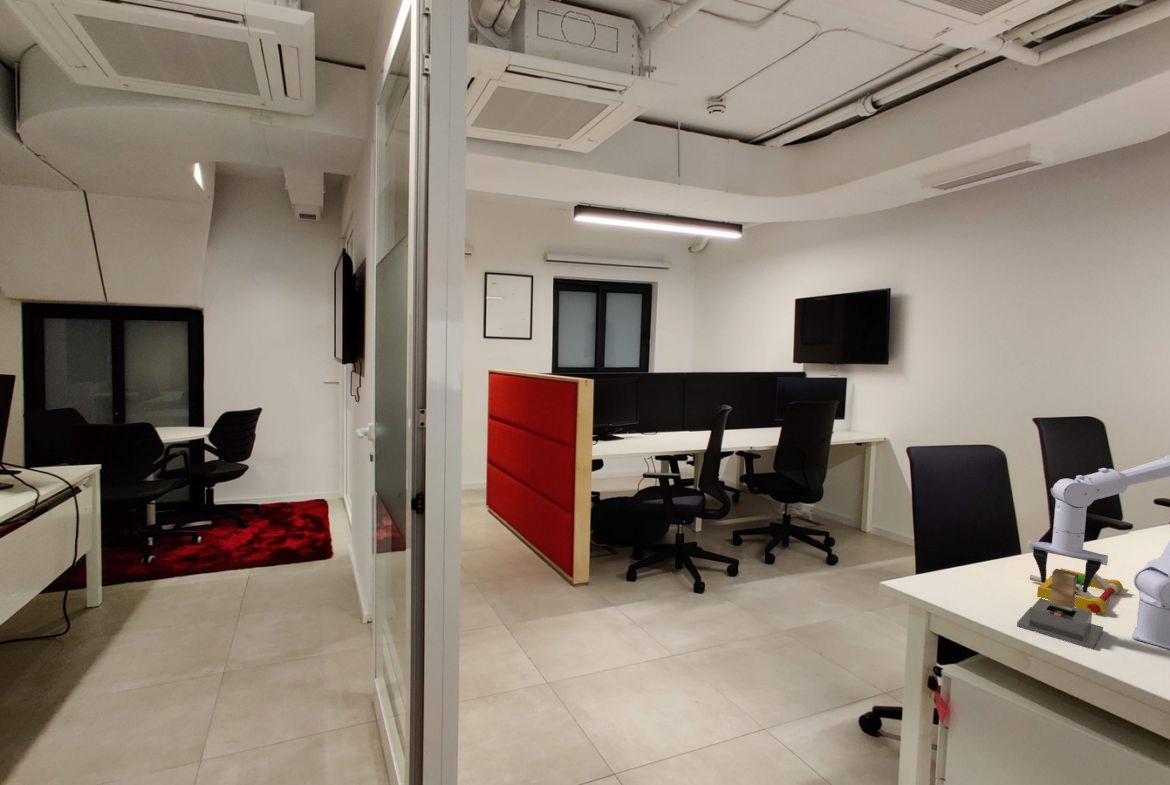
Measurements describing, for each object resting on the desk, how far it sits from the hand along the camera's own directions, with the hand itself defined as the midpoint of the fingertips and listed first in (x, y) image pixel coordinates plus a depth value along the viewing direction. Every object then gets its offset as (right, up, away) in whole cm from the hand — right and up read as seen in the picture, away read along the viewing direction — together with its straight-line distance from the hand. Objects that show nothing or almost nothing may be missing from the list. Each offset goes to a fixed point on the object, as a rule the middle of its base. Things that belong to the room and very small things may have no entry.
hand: (1063, 586), depth 139 cm
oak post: (0, -5, 0) cm, 5 cm away
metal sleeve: (0, -10, +1) cm, 10 cm away
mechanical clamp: (+22, -10, +25) cm, 35 cm away
